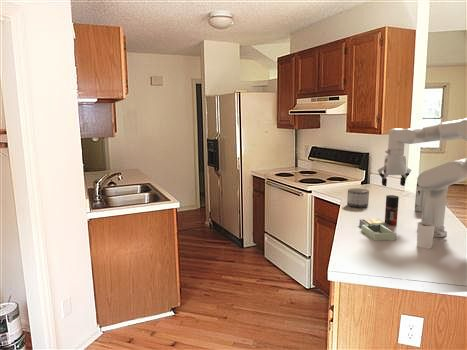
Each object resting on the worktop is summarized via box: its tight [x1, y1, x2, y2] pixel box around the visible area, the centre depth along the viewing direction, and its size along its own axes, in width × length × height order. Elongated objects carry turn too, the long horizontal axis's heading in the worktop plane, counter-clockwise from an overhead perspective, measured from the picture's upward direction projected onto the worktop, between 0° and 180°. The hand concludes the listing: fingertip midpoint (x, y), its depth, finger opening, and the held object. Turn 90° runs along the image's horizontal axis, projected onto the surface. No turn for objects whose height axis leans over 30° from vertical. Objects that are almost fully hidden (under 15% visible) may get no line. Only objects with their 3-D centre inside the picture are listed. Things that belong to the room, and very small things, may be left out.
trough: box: [361, 224, 397, 241], centre depth 167 cm, size 14×10×3 cm
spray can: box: [414, 177, 425, 213], centre depth 209 cm, size 7×7×20 cm
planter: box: [346, 187, 370, 209], centre depth 222 cm, size 13×13×10 cm
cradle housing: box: [358, 218, 389, 232], centre depth 178 cm, size 10×10×3 cm
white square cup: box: [416, 221, 435, 249], centre depth 152 cm, size 7×7×10 cm
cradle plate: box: [362, 218, 385, 225], centre depth 178 cm, size 7×7×2 cm
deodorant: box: [384, 194, 400, 227], centre depth 183 cm, size 6×6×15 cm
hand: (393, 185), depth 182 cm, fingers open, 9 cm apart
